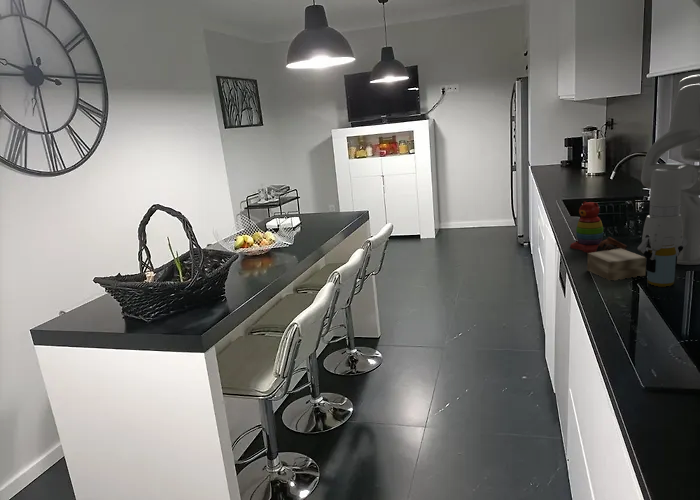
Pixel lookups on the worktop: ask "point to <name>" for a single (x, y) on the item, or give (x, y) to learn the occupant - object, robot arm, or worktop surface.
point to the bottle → (664, 264)
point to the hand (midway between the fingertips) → (661, 269)
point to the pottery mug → (610, 245)
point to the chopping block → (616, 264)
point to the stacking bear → (588, 228)
